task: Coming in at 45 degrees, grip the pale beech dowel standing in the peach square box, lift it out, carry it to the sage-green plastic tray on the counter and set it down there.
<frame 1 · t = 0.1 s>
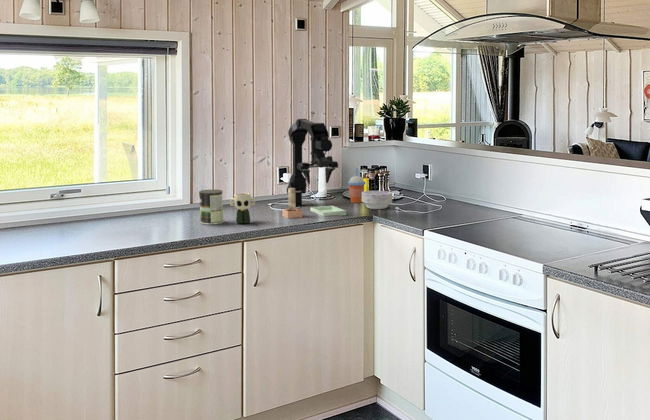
hand: (318, 183, 295), 15 cm above the worktop, tool pointing down, fingers open, 9 cm apart
dowel: (292, 216, 290), point 1 cm above the worktop, touching peach square box
sage tray: (328, 213, 300), on the worktop
paper bowls: (376, 208, 314), on the worktop
cup with straw: (356, 202, 331), on the worktop
coffee can: (212, 222, 281), on the worktop
character mug: (243, 223, 279), on the worktop
peach square box: (292, 217, 290), on the worktop
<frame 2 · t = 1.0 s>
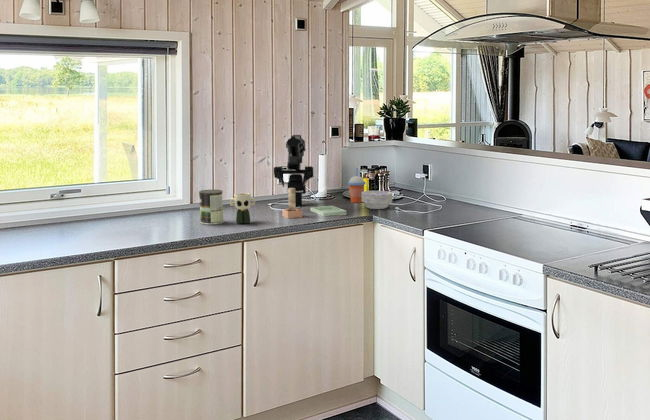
hand: (293, 186, 296), 13 cm above the worktop, tool tilted 45°, fingers open, 9 cm apart
nothing on the worktop moved.
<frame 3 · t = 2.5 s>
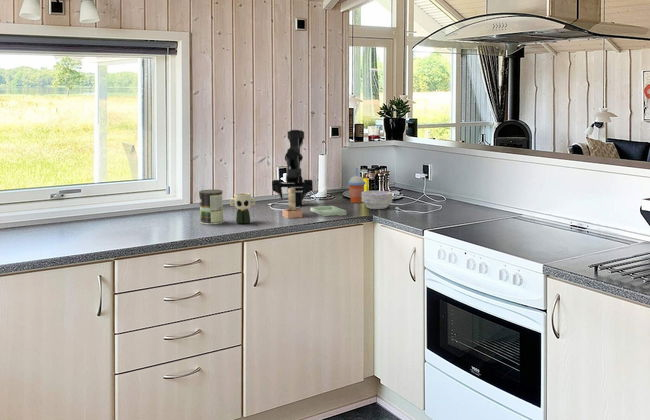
hand: (292, 200, 289), 8 cm above the worktop, tool tilted 45°, fingers open, 9 cm apart
nothing on the worktop moved.
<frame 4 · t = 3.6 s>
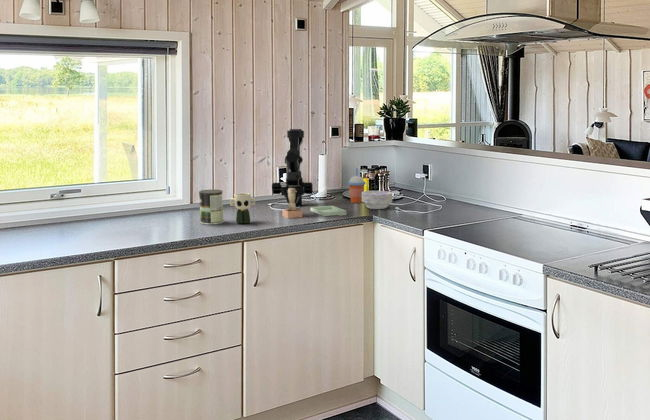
hand: (291, 202, 288), 7 cm above the worktop, tool tilted 45°, fingers closed on dowel, 3 cm apart
dowel: (292, 216, 290), point 1 cm above the worktop, touching gripper, peach square box
everything else where it was.
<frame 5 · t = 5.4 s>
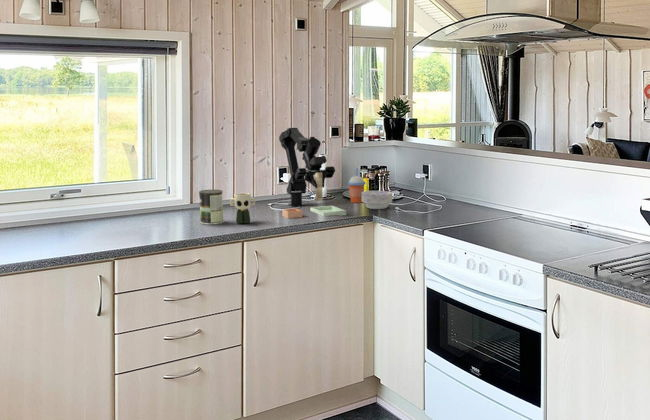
hand: (320, 187, 292), 13 cm above the worktop, tool tilted 45°, fingers closed on dowel, 3 cm apart
dowel: (319, 200, 294), point 7 cm above the worktop, touching gripper
everything else where it was.
when the fingers open (8 cm above the worktop, at t = 7.1 s): dowel stays where it is, resting on sage tray.
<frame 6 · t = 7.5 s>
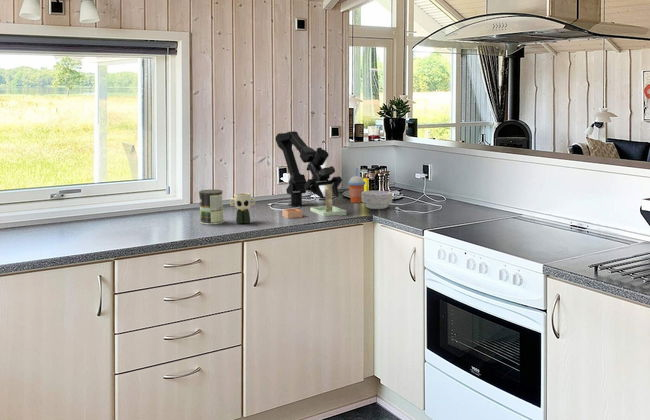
hand: (330, 197, 296), 8 cm above the worktop, tool tilted 45°, fingers open, 8 cm apart
dowel: (329, 212, 299), point 1 cm above the worktop, touching sage tray
everything else where it was.
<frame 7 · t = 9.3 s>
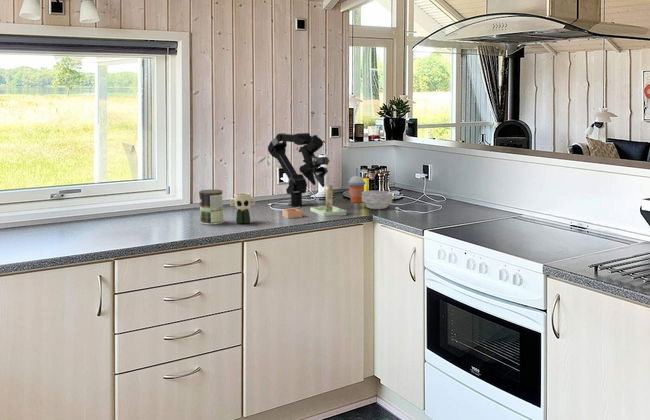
hand: (319, 185, 306), 12 cm above the worktop, tool tilted 30°, fingers open, 9 cm apart
nothing on the worktop moved.
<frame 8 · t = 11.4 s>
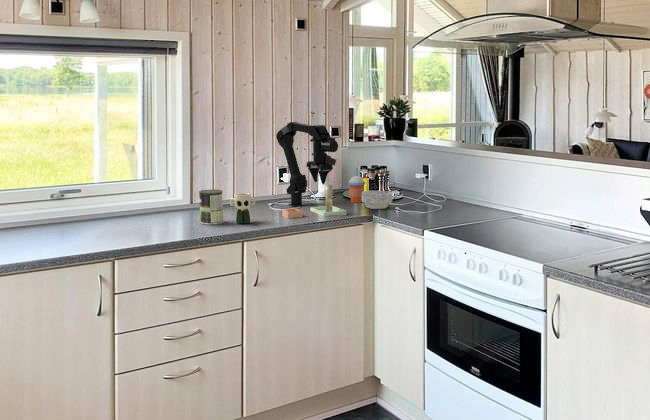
hand: (319, 183, 309), 13 cm above the worktop, tool pointing down, fingers open, 9 cm apart
nothing on the worktop moved.
at the end: dowel inside the target area on the sage tray (1.0 cm from its centre), point 0.6 cm above the sage tray's base; dowel touching sage tray; the gripper is holding nothing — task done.
